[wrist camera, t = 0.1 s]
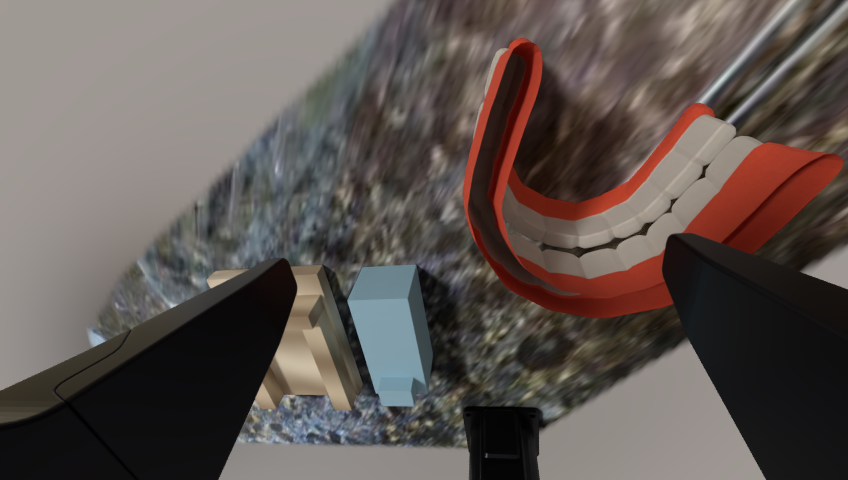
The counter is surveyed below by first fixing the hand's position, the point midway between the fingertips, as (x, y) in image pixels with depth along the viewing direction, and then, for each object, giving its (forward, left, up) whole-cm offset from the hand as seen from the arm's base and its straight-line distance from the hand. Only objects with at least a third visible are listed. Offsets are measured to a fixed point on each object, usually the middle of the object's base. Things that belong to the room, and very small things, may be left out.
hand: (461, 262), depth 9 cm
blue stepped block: (-14, +7, -15) cm, 22 cm away
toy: (-3, -5, -15) cm, 16 cm away
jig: (-16, +16, -15) cm, 27 cm away
